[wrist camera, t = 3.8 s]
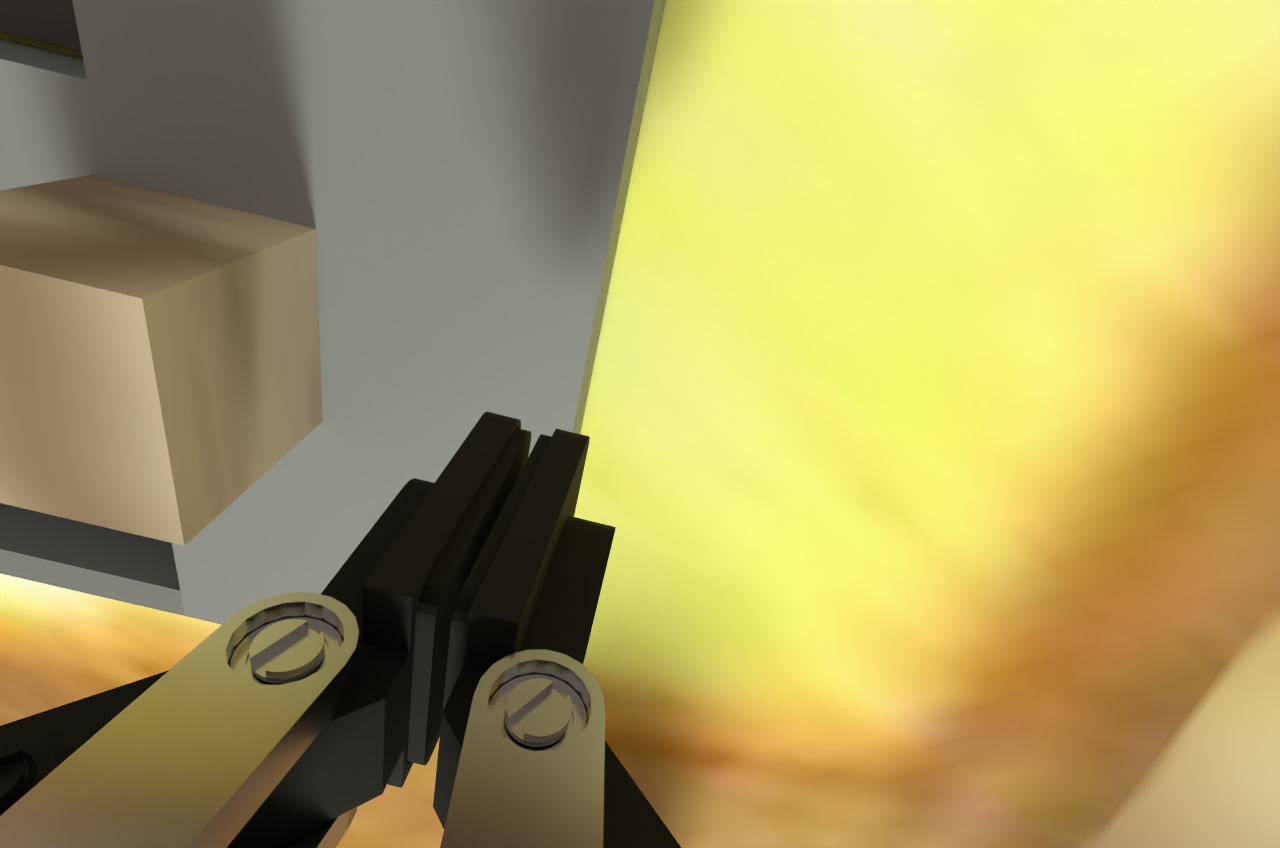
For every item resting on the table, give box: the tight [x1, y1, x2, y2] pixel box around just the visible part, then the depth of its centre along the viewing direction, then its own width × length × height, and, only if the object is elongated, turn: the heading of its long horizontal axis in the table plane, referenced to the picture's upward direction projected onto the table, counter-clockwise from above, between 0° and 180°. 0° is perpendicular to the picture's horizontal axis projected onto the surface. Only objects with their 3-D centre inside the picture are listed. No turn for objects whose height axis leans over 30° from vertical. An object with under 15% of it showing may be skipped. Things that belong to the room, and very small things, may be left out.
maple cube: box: [0, 175, 322, 546], centre depth 12 cm, size 4×4×4 cm
